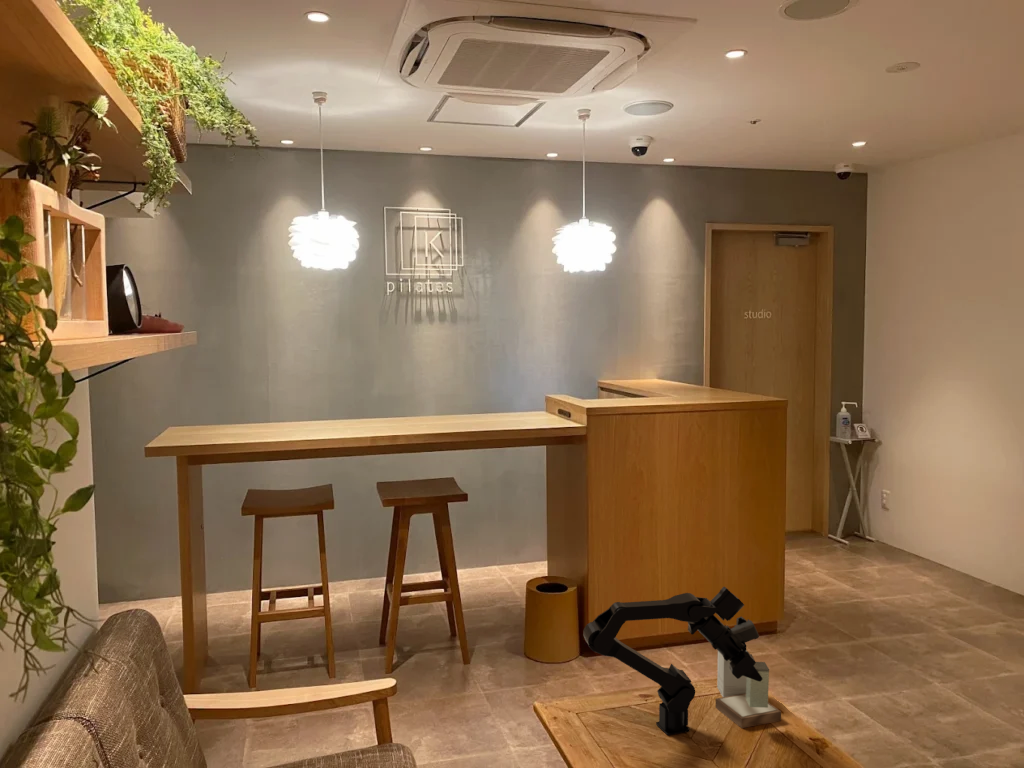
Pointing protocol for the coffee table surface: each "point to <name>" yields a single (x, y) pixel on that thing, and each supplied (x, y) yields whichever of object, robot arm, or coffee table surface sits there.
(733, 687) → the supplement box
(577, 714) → the coffee table surface
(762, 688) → the olive grey square block
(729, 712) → the brown framed square mirror
